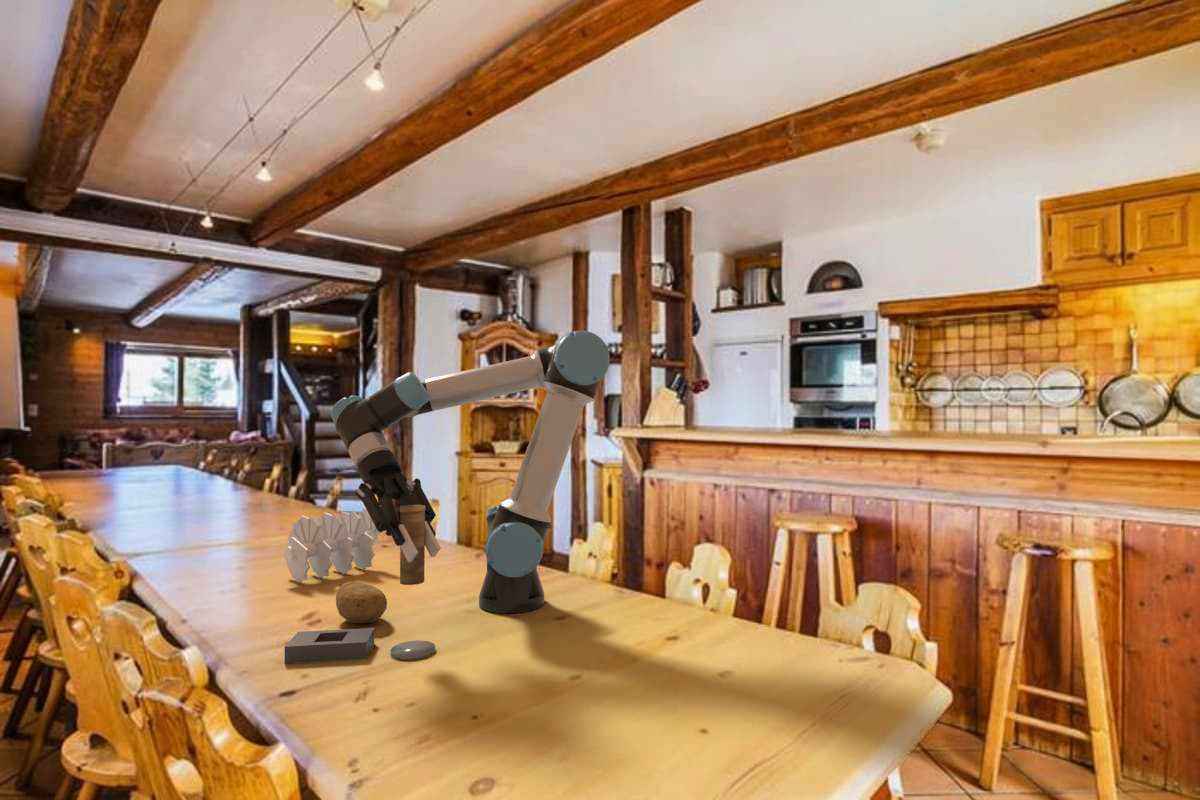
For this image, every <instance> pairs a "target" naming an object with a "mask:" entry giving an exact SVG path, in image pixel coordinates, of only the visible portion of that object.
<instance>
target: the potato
mask: <svg viewBox="0 0 1200 800" xmlns="http://www.w3.org/2000/svg"><path fill="white" fill-rule="evenodd" d="M335 605H336V608H337V611H338V614H339V615H340V617H342V618H344V619H345V620H347V621H349V622H350V623H352V624H364V623H367V624H369V623H370V624H372V623H373V622H375V621H376V620H378V619H380V618H382V616H383V614H384V613H385V611H386V610H387V606H388V599H387V597H386V594H385V593H384V592H383V591H381V589H380V588H377V587H376V586H373V585H372V584H368V583H365V582H361V581H357V580H352V581H347V582H345V583H343V584H342V585H340V587H339V589H338V590H337V592H336V595H335Z"/></svg>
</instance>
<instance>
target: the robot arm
mask: <svg viewBox="0 0 1200 800" xmlns="http://www.w3.org/2000/svg"><path fill="white" fill-rule="evenodd" d="M610 360H611V359H610V351H609V348H608V346H607V344H606V342H605V341H604V340H603V339H602V338H601V337H600V336H599V335H597V334H596V333H594V332H591V331H588V330H574V331H573V330H572V331H570V332H567V334H564V335H563V336H562V337H561V338H560V339H559V341H558V342H557V343H555V344H553V345H551V346H548V347H545V348H541V349H536V350H535V351H534V352H533V354H532V355H530V356H529V355H528V356H526V357H520V358H517V359H516V358H515V359H511V360H508V361H507V360H506V361H502V362H498V363H494V364H489V365H485V366H481V367H475V368H471V369H466V370H463V371H458V372H454V373H448V374H444V375H440V376H434V377H430V378H425V379H423V380H420V379H419V377H418V375H416V374H415V373H414V372H412V371H408V372H407V373H405V374H403V375H401V376H400V377H397V378H395V380H393V381H392V382H390V383H388V384H387V385H386V386H384V387H382V388H381V389H378V390H377V391H376V392H374V393H373V394H371V395H370V396H368V397H366V398H363V397H361V396H358V395H350V396H348V397H343V398H341V399H340V400H338V401H337V402H336V403H335V404H334V405H333V406H332V408H331V411H330V415H331V419H332V421H333V424H334V427H335V430H336V432H337V433H338V435H339V437H340V438H341V440H342V442H343V445H345V448H346V450H347V452H348V454H349V457H350V458H351V460H352V462H353V464H354V466H355V468H356V470H357V472H358V474H359V476H360V478H361V480H362V483H360V484H359V486H358V487H357V489H356V491H355V492H354V493H355V496H356V497H358V499H359V500H360V501H362V504H363V505H364V507H365V509H367V511H368V513H369V515H370V517H371V519H372V521H373V523H374V525H375V527H376V529H377V530H378V531H379V532H382V531H384V532H385V533H384V534H385V535H386V536H388V537H390V536H391V538H392V539H393V542H394V544H395V545H396V546H397V547H401V549H402V551H403V553H404V555H405V557H406V559H407V561H408V562H412V561H413V559H414V558H415V556H416V555H417V553H418V551H417V549H416V547H415V545H414V544H413V542H412V540H411V538H410V536H409V534H408V532H407V530H406V528H405V526H404V525H403V524H401V525H400V524H399V520H398V517H397V512H396V509H395V505H394V504H395V503H394V501H393V500H395V502H396V503H397V504H399V505H401V506H404V505H425V548H426V551H427V552H428V554H429V556H430V558H431V559H432V558H434V557H437V555H438V553H439V552H440V550H441V549H442V547H441V545H440V543H439V542H438V539H437V538H436V534H437V533H436V531H435V529H434V528H433V526H432V522H433V520H434V519H435V518H436V513H435V509H433V506H432V505H431V503H430V501H429V499H428V497H427V495H426V494H425V491H424V490H423V488H422V483H421V479H419V478H416V477H415V479H414V480H411V479H408V478H407V477H406V475H404V474H403V473H402V469H401V464H400V463H399V460H398V459H397V457H396V455H395V453H393V450H392V448H391V446H390V445H389V444H390V443H388V440H387V439H386V437H385V436H384V433H383V431H385V430H386V429H388V428H390V427H391V426H392V425H395V424H396V423H397V422H399V421H401V420H402V419H404V418H413V417H414V418H415V417H417V416H419V415H423V414H427V413H431V412H435V411H436V412H437V411H440V410H444V409H449V408H453V407H458V406H461V405H467V404H471V403H474V402H480V401H484V400H489V399H492V398H496V397H497V398H498V397H501V396H506V395H511V394H514V393H519V392H524V391H528V390H533V389H536V388H540V389H542V390H544V391H546V394H545V396H544V400H543V402H542V406H541V408H540V412H539V414H538V416H537V419H536V422H535V425H534V428H533V429H532V430H533V431H532V434H531V437H530V439H529V442H528V444H527V445H528V446H527V448H526V451H525V453H524V456H523V459H522V462H521V463H520V466H519V467H520V468H519V470H518V472H517V475H516V479H515V481H514V484H513V487H512V489H511V492H510V495H509V497H508V498H507V499H504V500H503V501H501V502H500V503H499V505H492V506H490V507H488V508H487V511H486V516H485V521H486V539H485V540H486V541H485V546H484V552H485V557H486V573H485V577H484V578H483V583H482V586H481V589H480V592H479V596H478V607H479V609H482V610H483V611H486V612H489V613H490V612H491V613H498V614H517V613H525V612H530V611H535V610H537V609H540V608H541V607H543V606H544V604H545V591H544V588H543V586H542V583H541V582H542V581H541V579H540V576H539V572H538V565H539V564H540V562H541V561H542V558H543V555H544V542H545V539H546V537H547V534H548V531H549V528H550V525H551V523H552V519H551V516H550V514H549V511H548V509H549V507H550V504H551V501H552V499H553V496H554V493H555V491H556V487H557V485H558V481H559V478H560V476H561V472H562V471H563V467H564V464H565V462H566V458H567V456H568V453H569V451H570V448H571V444H572V441H573V438H574V436H575V433H576V430H577V427H578V424H579V422H580V419H581V416H582V414H583V410H584V407H585V406H586V405H588V404H589V403H591V402H593V401H594V400H595V397H596V394H597V392H598V389H599V386H600V383H601V380H602V379H603V378H604V377H605V375H606V374H607V372H608V369H609V367H610ZM382 533H383V532H382Z"/></svg>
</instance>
